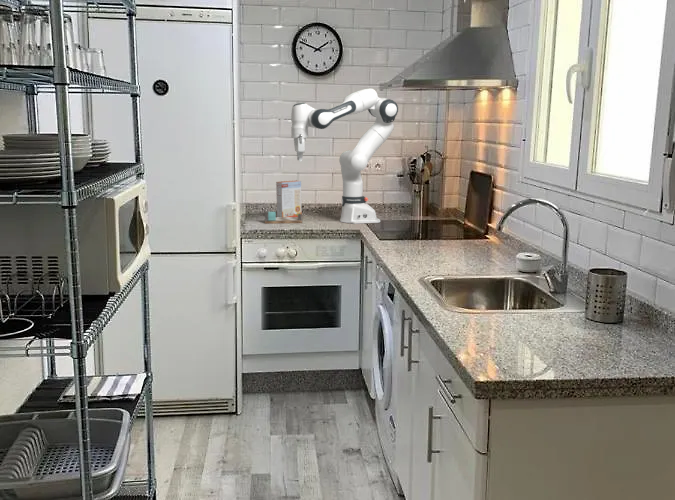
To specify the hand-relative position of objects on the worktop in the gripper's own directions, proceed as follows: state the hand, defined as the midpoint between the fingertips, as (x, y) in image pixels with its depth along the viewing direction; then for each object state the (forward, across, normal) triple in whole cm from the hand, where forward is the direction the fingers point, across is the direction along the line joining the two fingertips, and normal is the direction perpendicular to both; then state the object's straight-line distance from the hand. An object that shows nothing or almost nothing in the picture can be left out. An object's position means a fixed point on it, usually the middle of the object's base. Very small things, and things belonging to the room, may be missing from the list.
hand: (299, 160), depth 370 cm
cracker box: (+34, +30, +4) cm, 46 cm away
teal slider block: (+33, +11, +15) cm, 38 cm away
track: (+34, +11, +8) cm, 37 cm away
